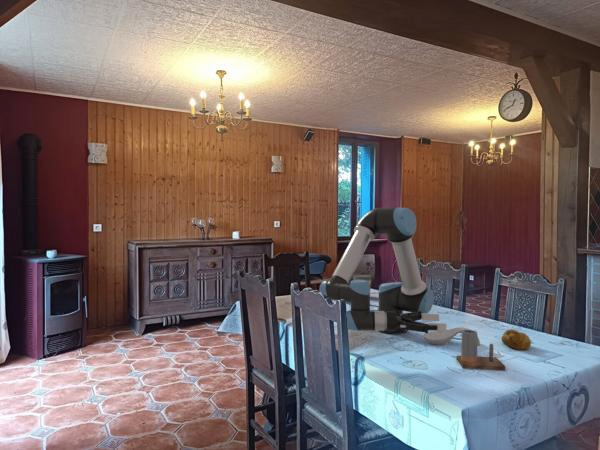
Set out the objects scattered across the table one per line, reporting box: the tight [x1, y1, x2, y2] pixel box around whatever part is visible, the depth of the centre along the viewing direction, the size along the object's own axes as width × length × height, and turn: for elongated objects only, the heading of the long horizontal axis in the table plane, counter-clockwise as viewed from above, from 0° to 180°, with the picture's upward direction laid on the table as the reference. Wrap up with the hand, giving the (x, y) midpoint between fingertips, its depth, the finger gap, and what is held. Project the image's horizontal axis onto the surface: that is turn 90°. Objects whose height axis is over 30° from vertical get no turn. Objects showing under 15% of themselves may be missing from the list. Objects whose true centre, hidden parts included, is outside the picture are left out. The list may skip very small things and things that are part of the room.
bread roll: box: [501, 328, 532, 351], centre depth 184 cm, size 13×10×8 cm
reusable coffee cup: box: [352, 273, 373, 291], centre depth 291 cm, size 13×13×15 cm
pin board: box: [456, 343, 507, 371], centre depth 162 cm, size 15×10×8 cm, turn 83°
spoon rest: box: [423, 326, 481, 346], centre depth 189 cm, size 24×12×7 cm, turn 86°
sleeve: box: [460, 329, 478, 363], centre depth 162 cm, size 5×5×11 cm
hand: (442, 322), depth 163 cm, fingers open, 13 cm apart
